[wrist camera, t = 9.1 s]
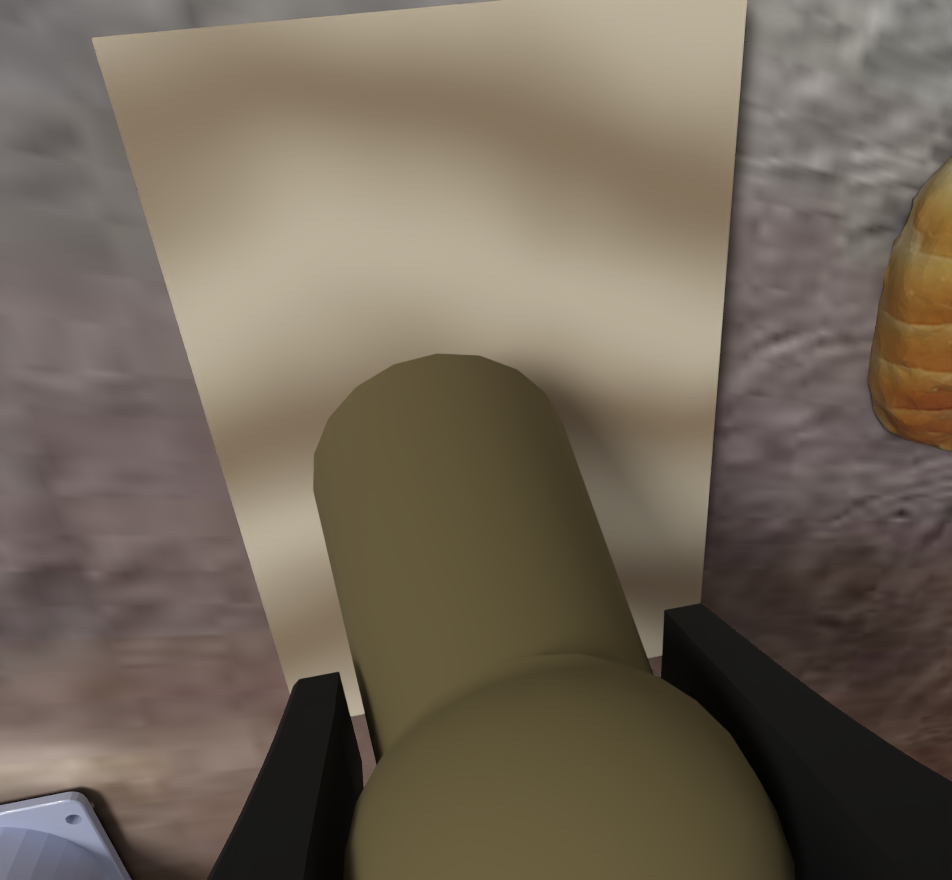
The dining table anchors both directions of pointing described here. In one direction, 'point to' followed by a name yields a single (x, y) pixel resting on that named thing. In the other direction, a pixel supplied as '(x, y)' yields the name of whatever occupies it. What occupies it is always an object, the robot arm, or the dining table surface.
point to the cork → (510, 655)
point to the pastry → (917, 323)
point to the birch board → (447, 251)
